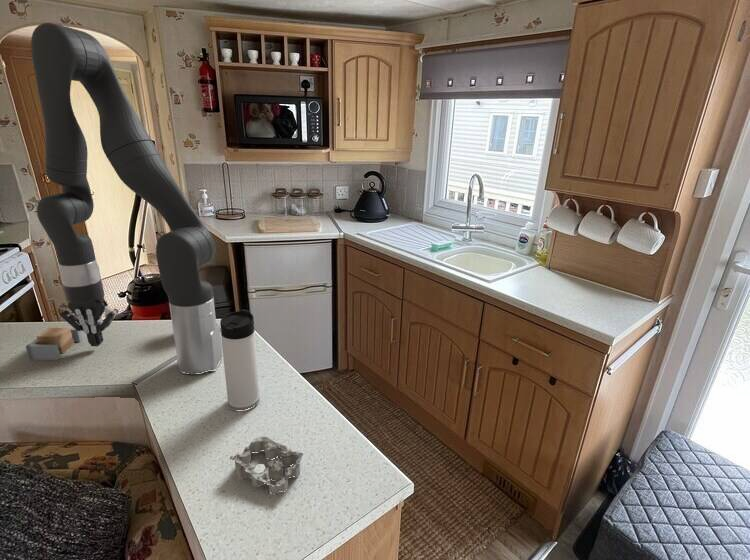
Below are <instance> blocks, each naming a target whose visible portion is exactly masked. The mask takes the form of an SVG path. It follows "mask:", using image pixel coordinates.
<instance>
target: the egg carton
mask: <svg viewBox="0 0 750 560" xmlns="http://www.w3.org/2000/svg"><path fill="white" fill-rule="evenodd" d="M261 450H264V451H265V452H264V457H265V456H266V457H265V459H266V458H268V459H273V458H275V459H273V460H269V461H267V464H266V466H267V470H268V473H267V472H264V473H263V475H259V476H256V475H255V473H254V469H253V466H251V465H250V464H251V462H252V455H251V453H252V452H260V451H261ZM260 453H261V452H260ZM303 455H304V453H303V452H299V451H295V450H294V451H293V450H292V449H291V448H289V447H288V445H283V444H281V443H279V442H276V441H274V440H273V439H271V438H270V437H267V436H259V437H257V438H255V439H254V440H253V441H251V442H250V443H249V445H247V446H245V447H244V449H243V452H242V453H240V454H239V453H238V452H236V454H235V455H231V456H230V457H229V460H232V461H234V466H235V468H234V469H235V475H236V478H237V479H238V478H239V480H241V479H242V478H243V479H246V478H250V477H252V478H251V482H252V483H251V484H253V485H252V486H254V485H255V486H254V487H257V486H259V485H261V484H264V483H265V484H268V485H269V486H268V485H267V486H268V489H269V490H268V492H271V493H272V494H271V493H270V494H271V495H273V494H275V493H277V492H279V491H283V492H282V493H285V492H284V491H286V489H287V488H288V489H289V479H290V478H289V477H292V478H298V477H299V476H298V475H301V460H302V458H303ZM277 456H278V457H281V459H280V458H276V457H277ZM250 461H251V462H250ZM249 463H250V464H249ZM292 464H293V465H292ZM283 465H284V466H290V465H292V466H290V467H285V469H283V467H284V466H283ZM282 475H283V476H284V475H285V476H284V478H285V479H284V481H283V482H282V481H281V479H282V478H283V476H282ZM293 476H295V477H293ZM297 476H298V477H297ZM245 477H246V478H245ZM281 477H282V478H281ZM280 478H281V479H280ZM288 478H289V479H288ZM243 479H242V480H243ZM270 479H272V480H278V479H280V480H278V481H275V484H271V481H272V480H270ZM261 486H262V485H261ZM259 487H260V486H259ZM288 489H287V490H288ZM286 492H287V491H286ZM279 493H280V492H279ZM277 494H278V493H277ZM275 495H276V494H275Z"/></svg>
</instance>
